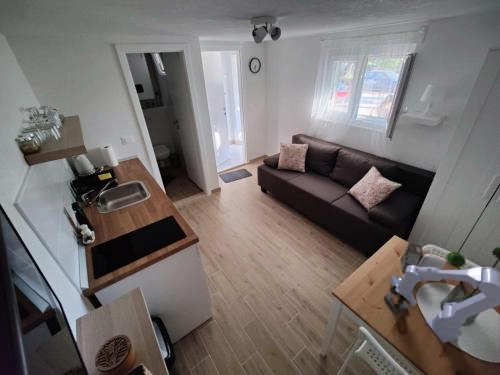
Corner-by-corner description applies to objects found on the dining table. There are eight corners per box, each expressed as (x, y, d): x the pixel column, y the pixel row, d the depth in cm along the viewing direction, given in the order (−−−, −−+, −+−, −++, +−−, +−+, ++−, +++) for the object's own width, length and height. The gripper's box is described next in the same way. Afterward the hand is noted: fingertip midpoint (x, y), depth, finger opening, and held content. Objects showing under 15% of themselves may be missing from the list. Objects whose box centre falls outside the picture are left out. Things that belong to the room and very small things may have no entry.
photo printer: (437, 270, 132) (446, 257, 125) (438, 275, 128) (447, 262, 122) (417, 263, 136) (425, 250, 129) (418, 269, 133) (425, 256, 126)
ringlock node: (423, 306, 114) (428, 299, 110) (394, 312, 113) (398, 305, 109) (399, 278, 128) (403, 271, 125) (373, 283, 127) (376, 276, 123)
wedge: (400, 304, 115) (405, 297, 112) (393, 306, 115) (398, 298, 111) (397, 300, 117) (402, 293, 114) (390, 301, 117) (394, 294, 113)
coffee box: (413, 273, 130) (423, 256, 122) (401, 270, 133) (410, 253, 124) (411, 262, 137) (421, 245, 128) (399, 259, 140) (408, 242, 131)
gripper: (389, 273, 112) (382, 288, 120) (410, 299, 100) (401, 314, 108) (401, 270, 113) (393, 285, 120) (424, 297, 101) (414, 311, 108)
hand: (398, 299), depth 114 cm, fingers closed on wedge, 2 cm apart
